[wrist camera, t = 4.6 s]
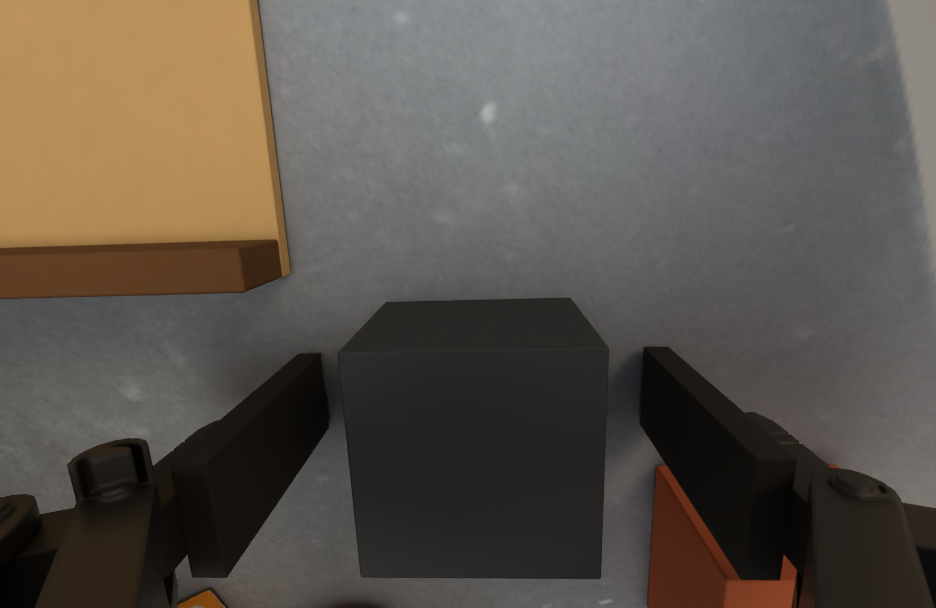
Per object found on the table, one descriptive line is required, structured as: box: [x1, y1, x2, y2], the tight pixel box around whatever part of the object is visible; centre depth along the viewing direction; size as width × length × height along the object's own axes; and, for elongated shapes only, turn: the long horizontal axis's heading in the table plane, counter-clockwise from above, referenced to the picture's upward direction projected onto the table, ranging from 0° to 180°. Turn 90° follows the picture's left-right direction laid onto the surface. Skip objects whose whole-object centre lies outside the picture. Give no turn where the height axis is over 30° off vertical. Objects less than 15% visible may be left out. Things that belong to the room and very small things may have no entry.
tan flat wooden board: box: [0, 0, 291, 299], centre depth 13 cm, size 12×14×3 cm
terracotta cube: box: [648, 465, 841, 608], centre depth 14 cm, size 6×6×5 cm
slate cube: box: [338, 298, 609, 579], centre depth 13 cm, size 6×6×5 cm
